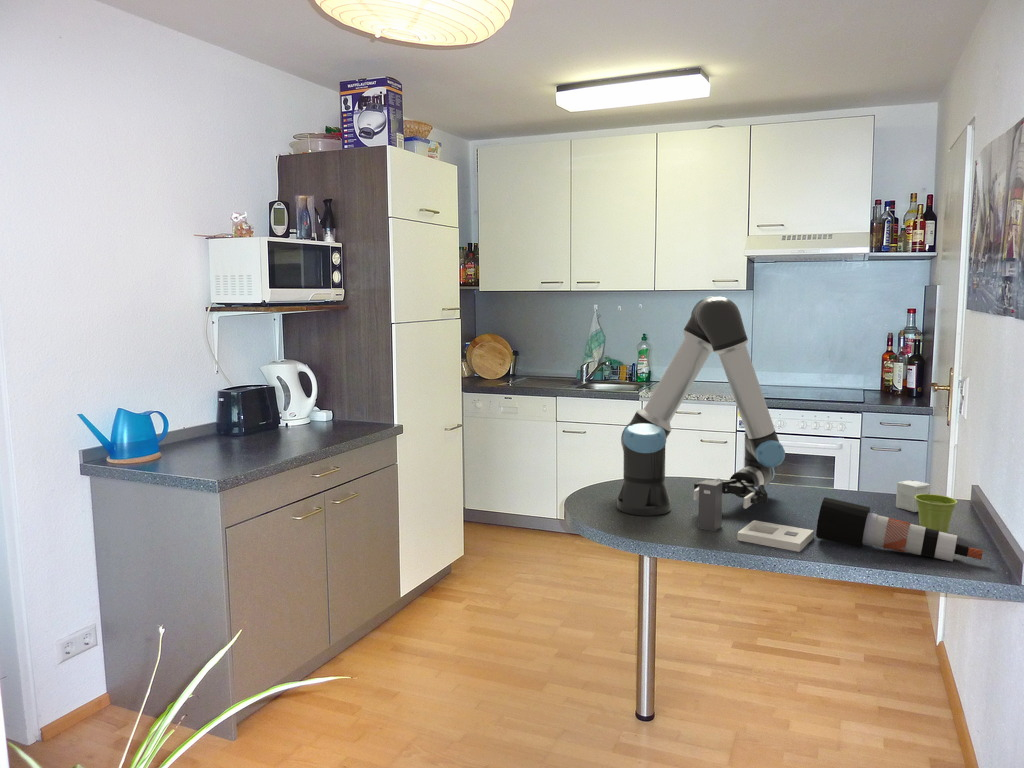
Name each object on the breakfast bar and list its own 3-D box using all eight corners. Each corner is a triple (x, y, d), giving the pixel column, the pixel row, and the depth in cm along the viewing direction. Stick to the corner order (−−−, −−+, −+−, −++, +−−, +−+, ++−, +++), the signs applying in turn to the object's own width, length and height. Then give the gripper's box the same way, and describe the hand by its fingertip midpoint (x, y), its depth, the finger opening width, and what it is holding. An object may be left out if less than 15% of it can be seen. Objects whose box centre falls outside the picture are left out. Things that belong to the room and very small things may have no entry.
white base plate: (737, 540, 189) (737, 531, 188) (753, 527, 198) (753, 519, 198) (799, 551, 180) (799, 542, 180) (813, 538, 189) (813, 529, 189)
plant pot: (936, 525, 199) (938, 492, 197) (964, 536, 189) (966, 502, 188) (904, 527, 197) (906, 494, 196) (930, 539, 188) (932, 505, 187)
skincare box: (914, 512, 210) (915, 486, 209) (895, 507, 215) (896, 481, 214) (929, 509, 212) (930, 484, 211) (910, 504, 218) (911, 479, 217)
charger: (697, 528, 198) (698, 483, 197) (704, 523, 202) (705, 479, 201) (714, 531, 196) (715, 485, 194) (721, 526, 200) (722, 481, 198)
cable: (976, 586, 169) (984, 555, 164) (815, 546, 186) (817, 516, 181) (980, 555, 176) (987, 523, 171) (824, 518, 193) (826, 488, 188)
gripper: (790, 501, 211) (766, 521, 194) (704, 488, 225) (674, 505, 208) (791, 475, 210) (767, 492, 193) (704, 464, 224) (675, 479, 207)
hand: (719, 499), depth 200 cm, fingers open, 13 cm apart
